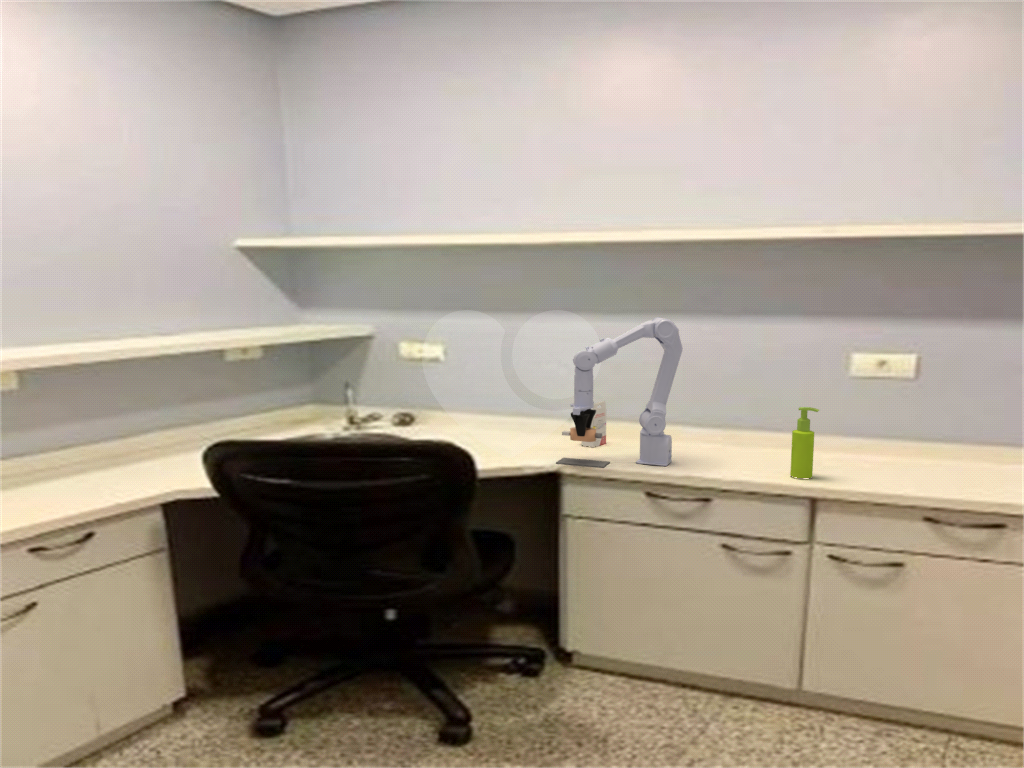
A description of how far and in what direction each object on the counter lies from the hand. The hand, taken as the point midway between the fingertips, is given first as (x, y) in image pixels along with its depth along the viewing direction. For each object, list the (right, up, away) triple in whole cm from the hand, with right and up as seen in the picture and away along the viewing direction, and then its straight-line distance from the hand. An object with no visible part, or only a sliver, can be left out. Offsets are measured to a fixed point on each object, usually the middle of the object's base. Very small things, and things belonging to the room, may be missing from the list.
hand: (583, 434), depth 252 cm
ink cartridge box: (+6, -5, +28) cm, 29 cm away
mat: (0, -9, +1) cm, 9 cm away
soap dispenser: (+61, -11, -17) cm, 64 cm away
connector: (0, -2, 0) cm, 2 cm away
